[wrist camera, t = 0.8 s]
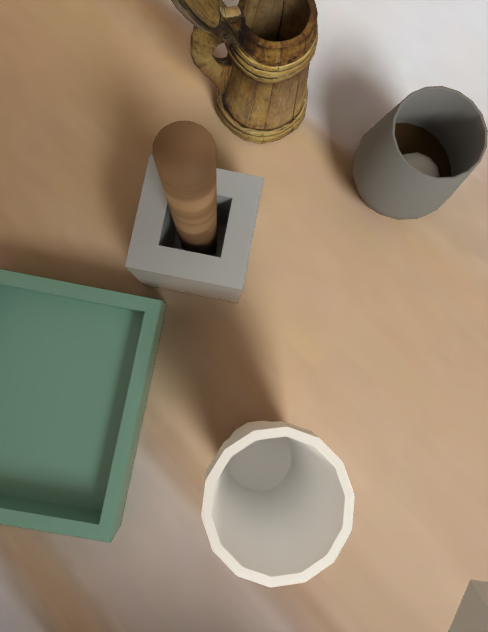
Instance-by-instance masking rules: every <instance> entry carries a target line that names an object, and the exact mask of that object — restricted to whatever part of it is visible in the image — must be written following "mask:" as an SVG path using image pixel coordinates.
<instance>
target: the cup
mask: <svg viewBox="0 0 488 632" xmlns="http://www.w3.org/2000/svg"><path fill="white" fill-rule="evenodd" d="M487 132H488V130H487V127H486V124H485V121H484V118H483V115H482V113H481V112H480V111H479V109H478V108H477V106H476V105H475V104H474V102H473V101H472V100H470V99H469V98H468V97H466V96H465V95H463V94H462V93H461V92H459V91H456V90H453V89H450V88H447V87H443V86H435V87H425V88H422V89H420V90H417V91H415V92H412V93H411V94H410V95H408V96H407V97H406V98H405V99H404V100H403V101H402V102H400V103H399V104H398V105H397V106H396V107H395V108H394V109H393V110H391V111H390V112H389V113H388V114H387V115H386V116H385V117H384V118H382V119H381V120H380V121H379V122H378V123H377V124H376V125H375V126H374V127H373V128H371V129H370V130H369V131H368V132H367V133H366V134H365V135H364V136H363V138H362V140H361V142H360V144H359V146H358V148H357V150H356V152H355V154H354V164H353V176H354V180H355V183H356V187H357V191H358V193H359V195H360V196H361V198H362V199H363V201H364V202H365V203H366V205H367V206H368V207H370V208H371V209H373V210H374V211H375V212H377V213H379V214H381V215H384V216H387V217H391V218H394V219H398V220H402V219H417V218H420V217H422V216H425V215H427V214H429V213H431V212H434V211H436V210H437V209H438V208H439V207H440V206H441V205H442V204H443V203H444V202H445V201H446V200H447V199H448V198H449V197H450V196H451V195H452V194H453V192H454V191H455V190H456V189H457V188H458V187H459V186H460V184H461V183H462V182H463V181H464V180H465V179H466V178H467V176H468V175H469V174H470V173H471V172H472V171H473V170H474V168H475V167H476V166H477V165H478V164H479V163H480V161H481V159H482V157H483V155H484V152H485V150H486V148H487Z"/></svg>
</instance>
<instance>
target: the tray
mask: <svg viewBox="0 0 488 632" xmlns="http://www.w3.org/2000/svg"><path fill="white" fill-rule="evenodd" d="M166 306H167V305H166V304H165V303H164V302H163V301H162V300H157V299H152V298H147V297H141V296H136V295H131V294H126V293H121V292H116V291H110V290H105V289H100V288H95V287H90V286H85V285H79V284H74V283H69V282H64V281H59V280H54V279H48V278H43V277H38V276H33V275H28V274H23V273H17V272H12V271H7V270H2V269H0V524H3V525H9V526H14V527H20V528H26V529H32V530H38V531H44V532H50V533H56V534H62V535H68V536H74V537H80V538H86V539H92V540H98V541H104V542H110V543H111V541H112V539H113V538H114V536H115V534H116V532H117V531H118V529H119V527H120V525H121V521H122V516H123V512H124V507H125V502H126V497H127V493H128V488H129V483H130V478H131V473H132V469H133V464H134V459H135V454H136V450H137V445H138V440H139V435H140V430H141V426H142V421H143V416H144V411H145V407H146V402H147V397H148V392H149V387H150V383H151V378H152V373H153V368H154V364H155V359H156V354H157V349H158V344H159V340H160V335H161V330H162V325H163V321H164V316H165V311H166Z"/></svg>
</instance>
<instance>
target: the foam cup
mask: <svg viewBox="0 0 488 632" xmlns="http://www.w3.org/2000/svg"><path fill="white" fill-rule="evenodd" d="M354 498H355V495H354V492H353V489H352V486H351V483H350V481H349V478H348V475H347V472H346V469H345V466H344V463H343V462H342V461H341V460H340V459H339V458H338V457H337V456H336V455H335V454H334V453H333V452H332V451H331V449H330V448H329V447H328V446H327V445H326V444H325V443H324V442H323V441H322V440H321V439H320V438H319V437H317V436H316V435H315V434H314V433H312V432H311V431H309V430H306V429H303V428H300V427H298V426H295V425H292V424H289V423H286V422H284V421H276V422H269V421H254V422H247V423H245V424H244V425H242V426H241V427H239V428H238V429H236V430H234V432H233V433H232V435H231V436H230V438H229V439H227V440H226V441H224V443H223V444H222V446H221V447H220V449H219V451H218V452H217V454H216V455H215V457H214V459H213V460H212V462H211V463H210V465H209V467H208V468H207V471H206V479H205V487H204V495H203V504H202V513H201V517H202V520H203V523H204V526H205V529H206V532H207V535H208V538H209V541H210V545H211V548H212V550H213V551H214V553H215V554H216V555H217V556H218V557H219V558H220V559H221V560H222V561H223V562H224V563H225V564H226V565H227V566H228V567H229V568H230V569H231V570H232V571H233V572H234V573H235V574H236V575H237V576H238V577H241V578H244V579H247V580H250V581H253V582H256V583H259V584H262V585H264V586H267V587H277V586H284V585H291V584H298V583H304V582H306V581H308V580H309V579H311V578H312V577H313V576H315V575H316V574H318V573H319V572H320V571H322V570H323V569H325V568H326V567H328V566H329V565H330V564H332V563H333V562H334V561H335V559H336V558H337V556H338V554H339V552H340V550H341V549H342V547H343V545H344V543H345V542H346V540H347V538H348V536H349V535H350V533H351V531H352V520H353V509H354Z"/></svg>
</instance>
